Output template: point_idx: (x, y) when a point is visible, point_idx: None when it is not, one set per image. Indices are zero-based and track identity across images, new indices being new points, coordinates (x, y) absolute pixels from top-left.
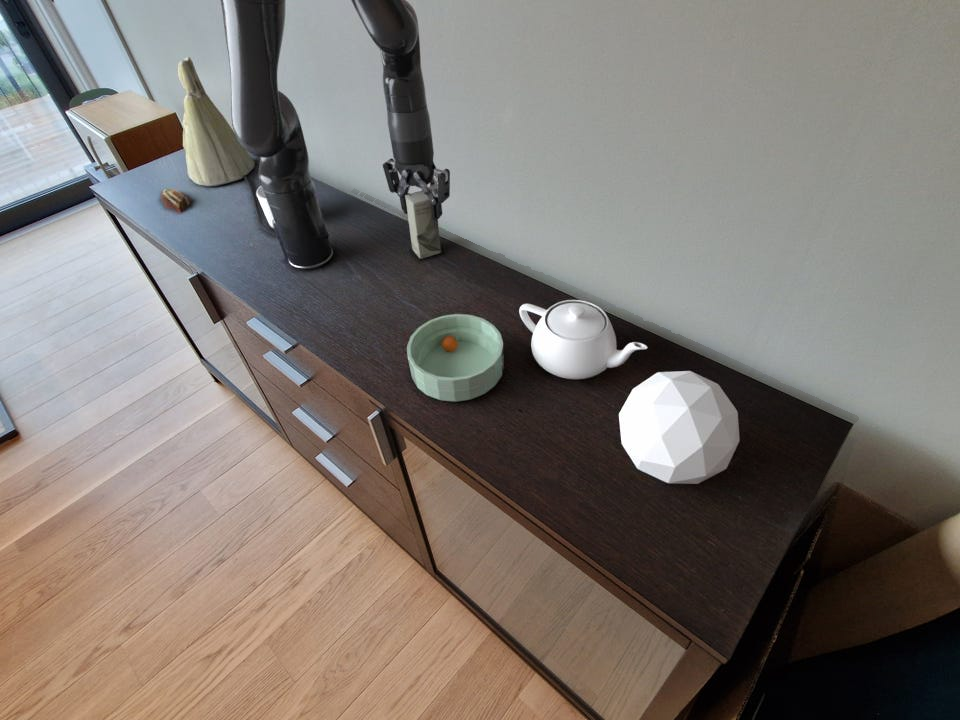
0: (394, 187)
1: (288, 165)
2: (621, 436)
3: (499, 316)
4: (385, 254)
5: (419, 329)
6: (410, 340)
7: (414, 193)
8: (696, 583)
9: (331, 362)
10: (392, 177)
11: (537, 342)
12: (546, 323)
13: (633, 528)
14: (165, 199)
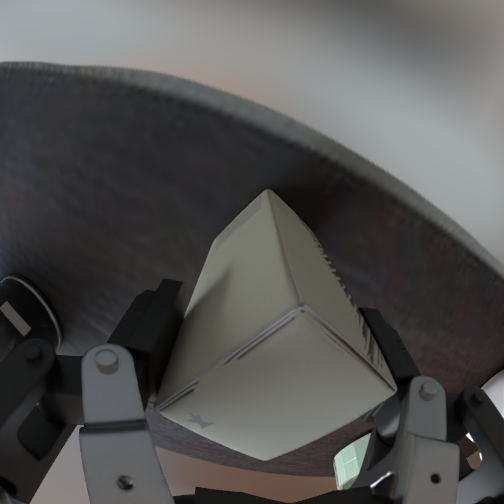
0: (68, 427)
1: None
2: (481, 455)
3: (443, 377)
4: (144, 276)
5: (348, 480)
6: (340, 487)
7: (211, 398)
8: (473, 449)
9: (234, 467)
10: (33, 477)
11: (471, 438)
12: (490, 393)
13: (463, 450)
14: None
